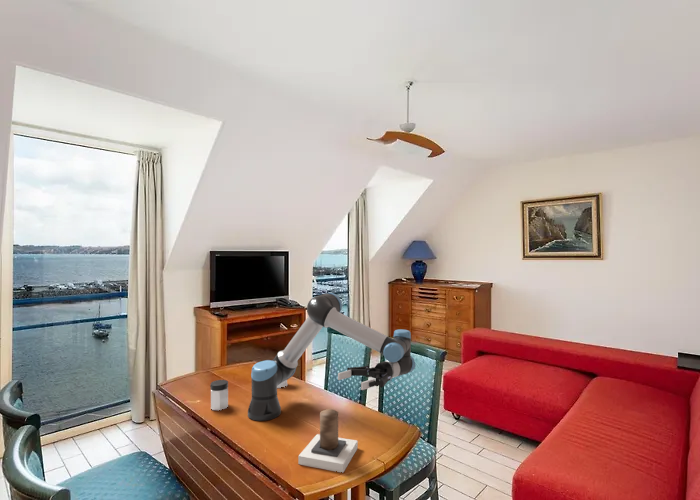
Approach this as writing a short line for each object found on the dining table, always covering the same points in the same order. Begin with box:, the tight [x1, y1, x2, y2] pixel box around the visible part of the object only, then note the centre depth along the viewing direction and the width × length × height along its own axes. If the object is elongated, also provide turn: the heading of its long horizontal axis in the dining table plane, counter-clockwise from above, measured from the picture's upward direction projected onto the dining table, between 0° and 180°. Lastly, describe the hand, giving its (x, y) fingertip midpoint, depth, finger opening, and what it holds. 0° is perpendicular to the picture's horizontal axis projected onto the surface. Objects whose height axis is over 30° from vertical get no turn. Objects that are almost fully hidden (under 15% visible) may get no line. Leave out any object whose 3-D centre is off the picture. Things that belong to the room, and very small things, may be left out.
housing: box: [297, 433, 359, 474], centre depth 143 cm, size 17×17×4 cm
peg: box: [319, 409, 339, 450], centre depth 143 cm, size 7×7×16 cm
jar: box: [209, 379, 229, 411], centre depth 187 cm, size 9×8×12 cm
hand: (349, 381), depth 149 cm, fingers open, 13 cm apart
